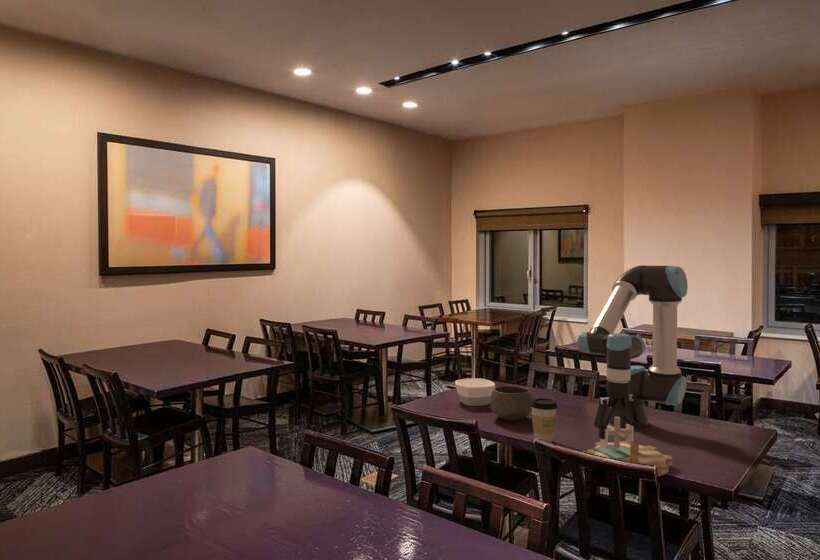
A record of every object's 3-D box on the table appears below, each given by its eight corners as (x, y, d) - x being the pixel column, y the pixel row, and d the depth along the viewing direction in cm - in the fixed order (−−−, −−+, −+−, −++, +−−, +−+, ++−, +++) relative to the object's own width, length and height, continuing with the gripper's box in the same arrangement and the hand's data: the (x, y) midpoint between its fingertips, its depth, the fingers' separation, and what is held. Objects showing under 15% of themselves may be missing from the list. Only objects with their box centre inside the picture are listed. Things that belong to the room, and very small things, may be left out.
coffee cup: (557, 446, 201) (558, 405, 200) (529, 444, 203) (530, 403, 202) (556, 437, 210) (557, 398, 210) (529, 435, 212) (530, 396, 212)
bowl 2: (480, 418, 235) (481, 388, 234) (508, 410, 247) (508, 381, 246) (515, 428, 221) (515, 396, 221) (541, 419, 233) (542, 389, 233)
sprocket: (584, 443, 200) (584, 418, 200) (662, 449, 195) (662, 424, 194) (591, 471, 175) (592, 443, 174) (681, 479, 169) (682, 449, 169)
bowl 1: (449, 399, 265) (450, 379, 265) (484, 396, 270) (484, 377, 270) (464, 409, 248) (464, 388, 248) (500, 406, 253) (501, 385, 253)
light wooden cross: (612, 453, 181) (613, 423, 180) (594, 443, 191) (595, 414, 190) (639, 450, 184) (640, 420, 183) (620, 440, 193) (620, 412, 193)
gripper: (636, 375, 194) (634, 438, 195) (583, 380, 185) (581, 446, 186) (653, 379, 187) (651, 445, 188) (598, 385, 178) (597, 454, 179)
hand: (616, 446), depth 187 cm, fingers closed on light wooden cross, 10 cm apart
